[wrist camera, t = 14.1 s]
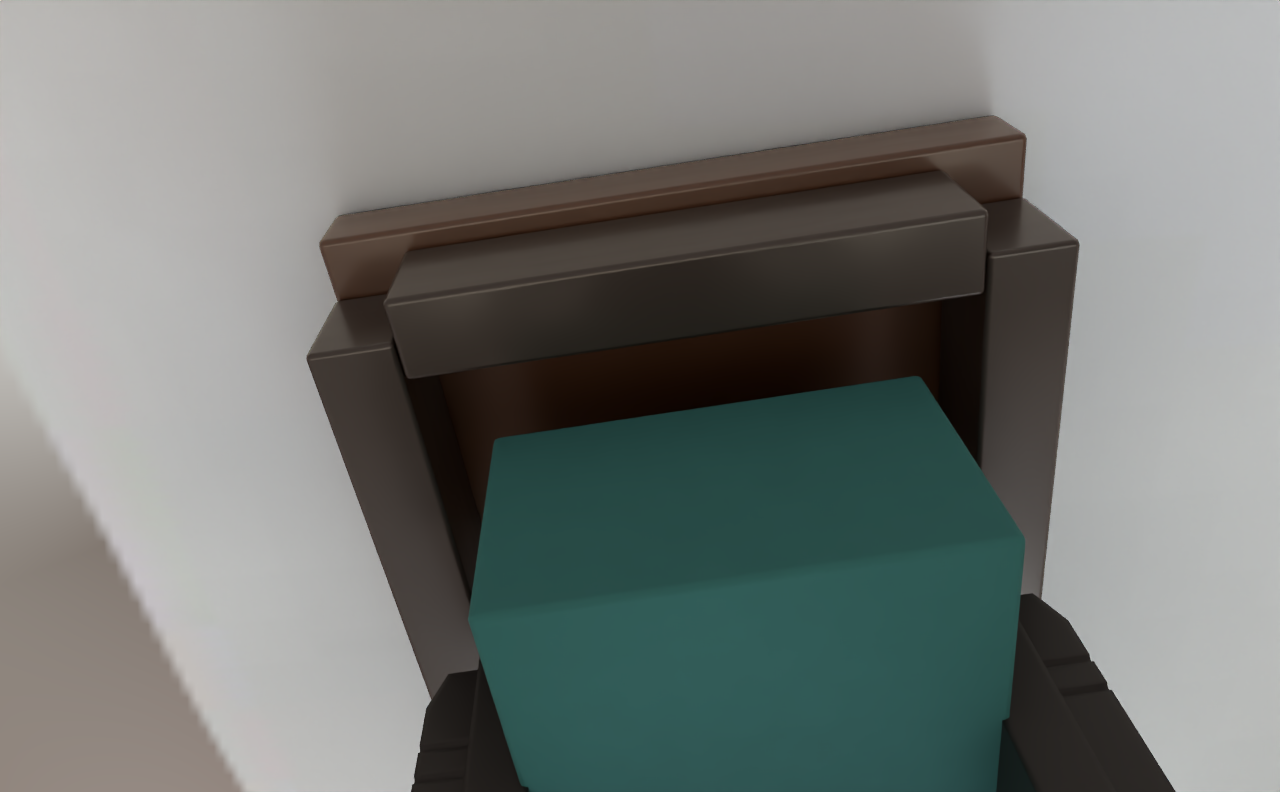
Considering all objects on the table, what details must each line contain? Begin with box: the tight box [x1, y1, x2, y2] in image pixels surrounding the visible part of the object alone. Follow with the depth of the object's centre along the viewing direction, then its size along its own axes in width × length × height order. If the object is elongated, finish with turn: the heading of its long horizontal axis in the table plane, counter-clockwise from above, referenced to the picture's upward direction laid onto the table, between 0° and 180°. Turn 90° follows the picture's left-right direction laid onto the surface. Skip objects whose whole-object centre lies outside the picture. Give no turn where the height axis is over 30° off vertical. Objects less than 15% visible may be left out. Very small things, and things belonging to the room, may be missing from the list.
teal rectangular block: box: [468, 376, 1025, 792], centre depth 11 cm, size 7×5×3 cm
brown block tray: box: [307, 116, 1079, 700], centre depth 15 cm, size 19×8×4 cm, turn 8°
